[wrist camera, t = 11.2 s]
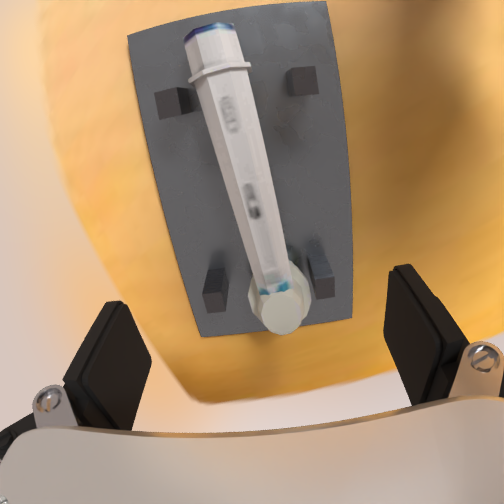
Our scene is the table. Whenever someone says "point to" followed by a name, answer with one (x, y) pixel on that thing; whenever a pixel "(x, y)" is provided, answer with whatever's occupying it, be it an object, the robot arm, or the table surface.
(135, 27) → the table surface
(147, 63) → the peg stand
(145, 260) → the table surface
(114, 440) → the robot arm
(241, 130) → the white handheld device
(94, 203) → the table surface
